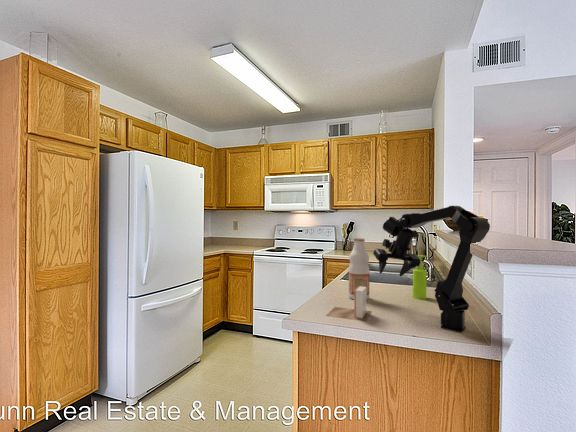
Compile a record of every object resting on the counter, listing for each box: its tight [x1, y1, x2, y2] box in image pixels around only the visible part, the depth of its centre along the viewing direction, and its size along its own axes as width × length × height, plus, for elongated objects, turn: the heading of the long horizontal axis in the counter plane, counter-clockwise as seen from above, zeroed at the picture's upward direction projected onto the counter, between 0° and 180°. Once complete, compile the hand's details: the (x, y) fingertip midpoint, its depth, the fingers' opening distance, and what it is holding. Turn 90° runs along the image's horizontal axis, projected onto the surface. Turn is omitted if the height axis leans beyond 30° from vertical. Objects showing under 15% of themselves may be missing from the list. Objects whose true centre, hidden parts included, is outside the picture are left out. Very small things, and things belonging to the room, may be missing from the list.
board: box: [325, 306, 372, 322], centre depth 122 cm, size 15×13×1 cm
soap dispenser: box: [412, 254, 429, 300], centre depth 149 cm, size 6×7×20 cm
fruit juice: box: [348, 237, 370, 301], centre depth 148 cm, size 9×9×28 cm
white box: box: [353, 286, 367, 318], centre depth 120 cm, size 3×8×10 cm, turn 156°
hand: (390, 274), depth 133 cm, fingers open, 9 cm apart
